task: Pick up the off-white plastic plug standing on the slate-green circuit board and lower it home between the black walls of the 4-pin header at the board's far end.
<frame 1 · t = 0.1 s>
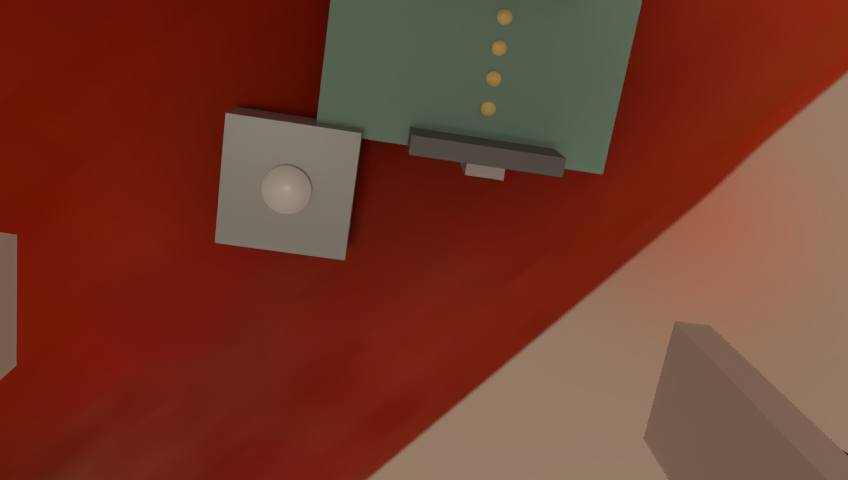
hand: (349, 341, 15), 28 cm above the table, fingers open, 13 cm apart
button: (294, 177, 42), on the table
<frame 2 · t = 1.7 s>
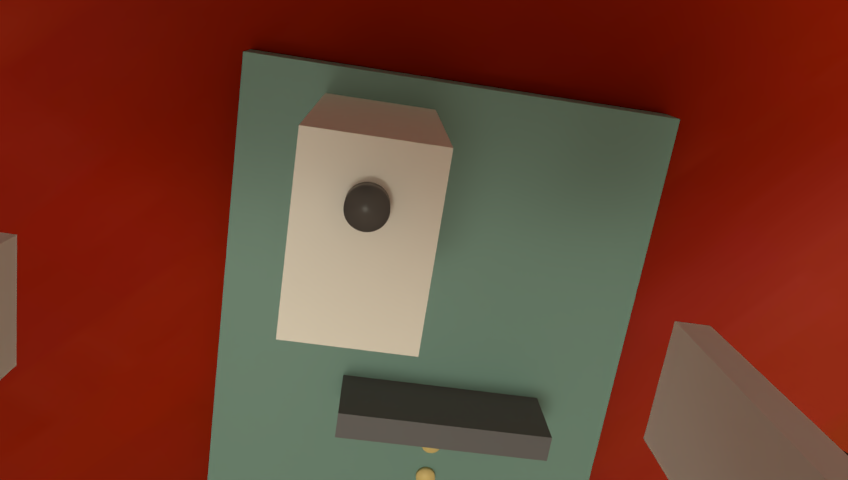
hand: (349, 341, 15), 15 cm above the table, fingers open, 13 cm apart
plug: (369, 182, 27), point 1 cm above the table, touching board
board: (419, 345, 31), on the table
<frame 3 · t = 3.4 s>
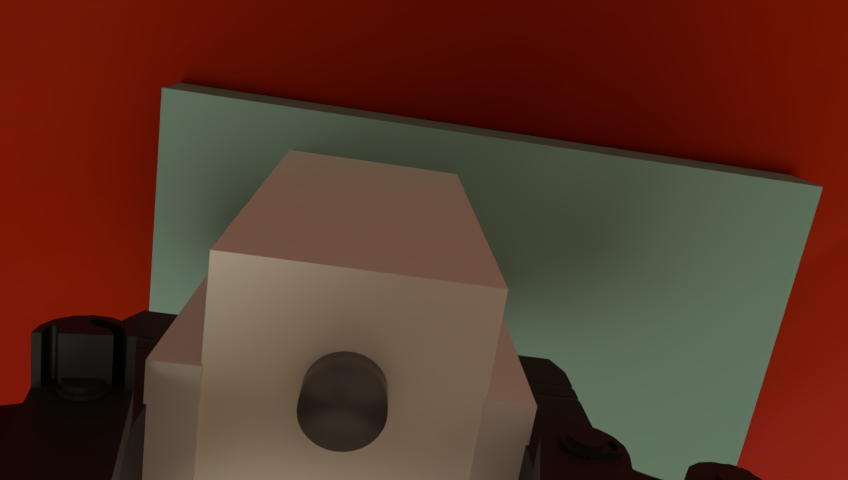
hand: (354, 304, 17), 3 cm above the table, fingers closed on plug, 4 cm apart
plug: (357, 280, 18), point 1 cm above the table, touching board, gripper
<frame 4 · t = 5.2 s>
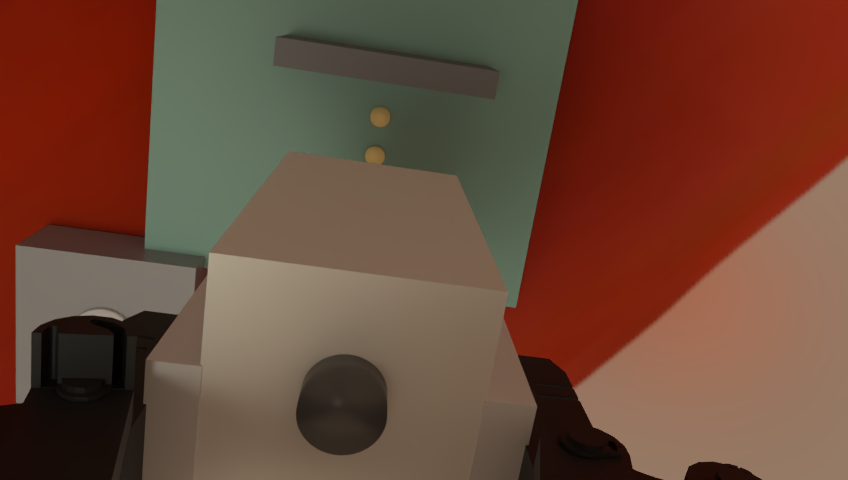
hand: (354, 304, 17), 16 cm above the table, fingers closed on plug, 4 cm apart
plug: (357, 281, 18), point 14 cm above the table, touching gripper
board: (368, 20, 30), on the table
button: (128, 309, 33), on the table
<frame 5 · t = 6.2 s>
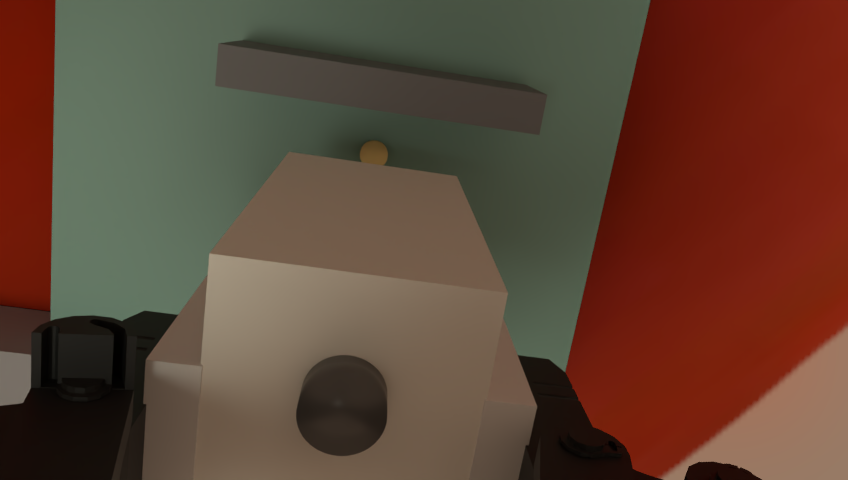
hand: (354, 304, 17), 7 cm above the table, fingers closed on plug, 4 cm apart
plug: (357, 282, 18), point 5 cm above the table, touching gripper
board: (357, 20, 22), on the table
button: (37, 406, 25), on the table
when the fingers open (4 cm above the table, at t = 7.0 s): plug stays where it is, resting on board.
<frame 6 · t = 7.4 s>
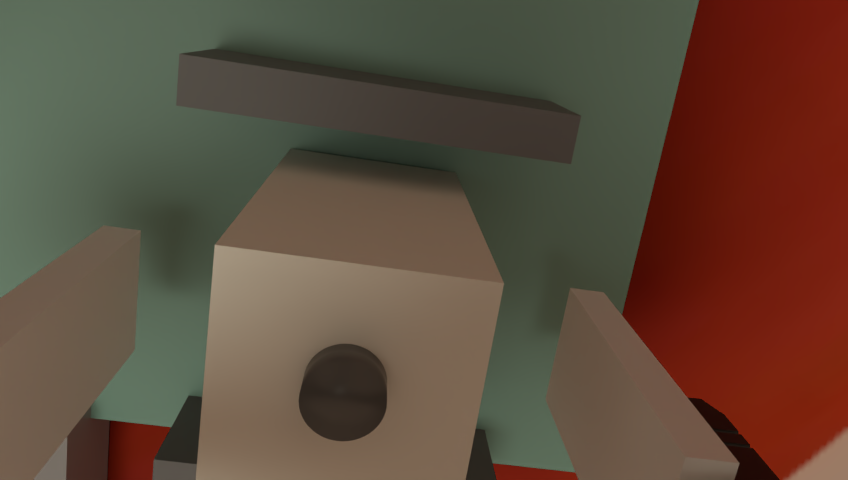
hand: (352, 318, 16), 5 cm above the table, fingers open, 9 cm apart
plug: (357, 277, 19), point 2 cm above the table, touching board
board: (352, 24, 19), on the table
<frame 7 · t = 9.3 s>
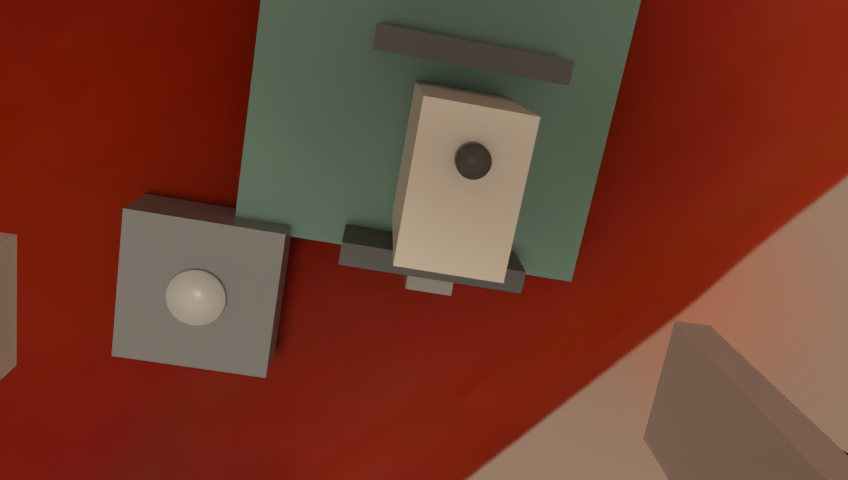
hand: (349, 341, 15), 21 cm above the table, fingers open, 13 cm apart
plug: (447, 155, 33), point 2 cm above the table, touching board
board: (448, 13, 33), on the table
button: (212, 274, 36), on the table
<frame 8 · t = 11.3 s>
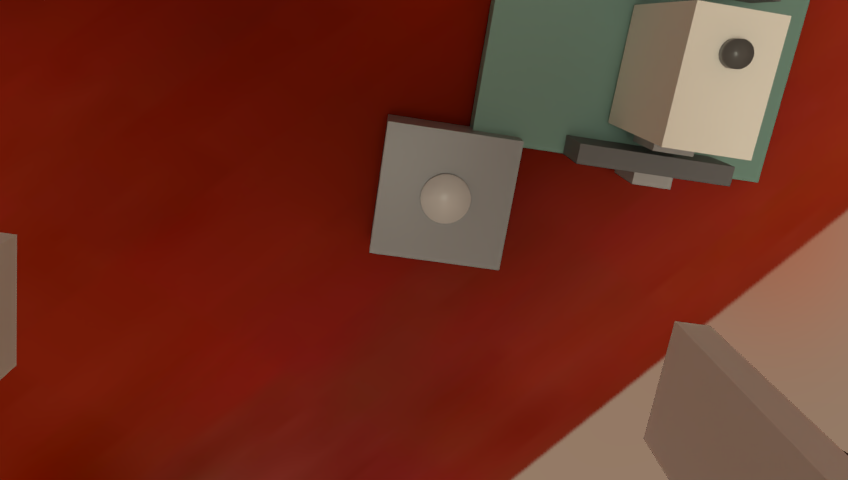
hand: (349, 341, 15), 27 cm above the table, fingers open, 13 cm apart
plug: (658, 71, 38), point 2 cm above the table, touching board
button: (441, 185, 41), on the table
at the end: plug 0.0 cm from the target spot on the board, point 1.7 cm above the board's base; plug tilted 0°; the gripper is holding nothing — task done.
